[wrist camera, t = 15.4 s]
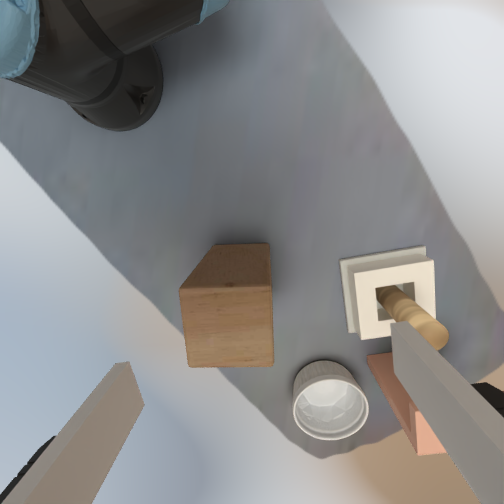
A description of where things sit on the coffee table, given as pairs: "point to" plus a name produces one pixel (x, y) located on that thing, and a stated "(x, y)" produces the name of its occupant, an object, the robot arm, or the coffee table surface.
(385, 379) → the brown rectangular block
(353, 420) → the ramekin
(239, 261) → the wooden block
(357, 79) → the coffee table surface
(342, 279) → the socket
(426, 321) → the peg
